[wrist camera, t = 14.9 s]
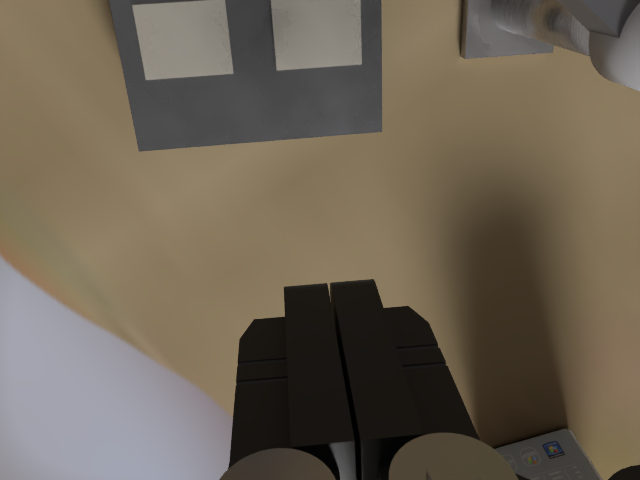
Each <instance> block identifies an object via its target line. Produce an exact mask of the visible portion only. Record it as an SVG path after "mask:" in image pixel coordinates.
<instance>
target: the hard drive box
mask: <svg viewBox="0 0 640 480" xmlns="http://www.w3.org/2000/svg"><path fill="white" fill-rule="evenodd" d="M495 450H496V451H497V452H498V453H500V454H501V455H502V456H503V457H504V458H505V459H506V461H507V462H508V463H509V465H510V466H511V468H512V469H513V471H514V472H515V473H516V474H519V475H521V476H523V477H525V478H527V479H530V480H603V479H602V478H601V476H600V475H599V473H598V472H597V470H596V468H595V467H594V465H593V463H592V462H591V460H590V459H589V457H588V456H587V454H586V452H585V451H584V449H583V448H582V446H581V445H580V443H579V442H578V440H577V438H576V437H575V435H574V434H573V432H572V431H571V430H570V429H568V430H567V429H562V430H559V431H555V432H551V433H548V434H544V435H541V436H538V437H534V438H531V439H527V440H524V441H520V442H517V443H513V444H510V445H506V446H503V447H499V448H496V449H495Z"/></svg>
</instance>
